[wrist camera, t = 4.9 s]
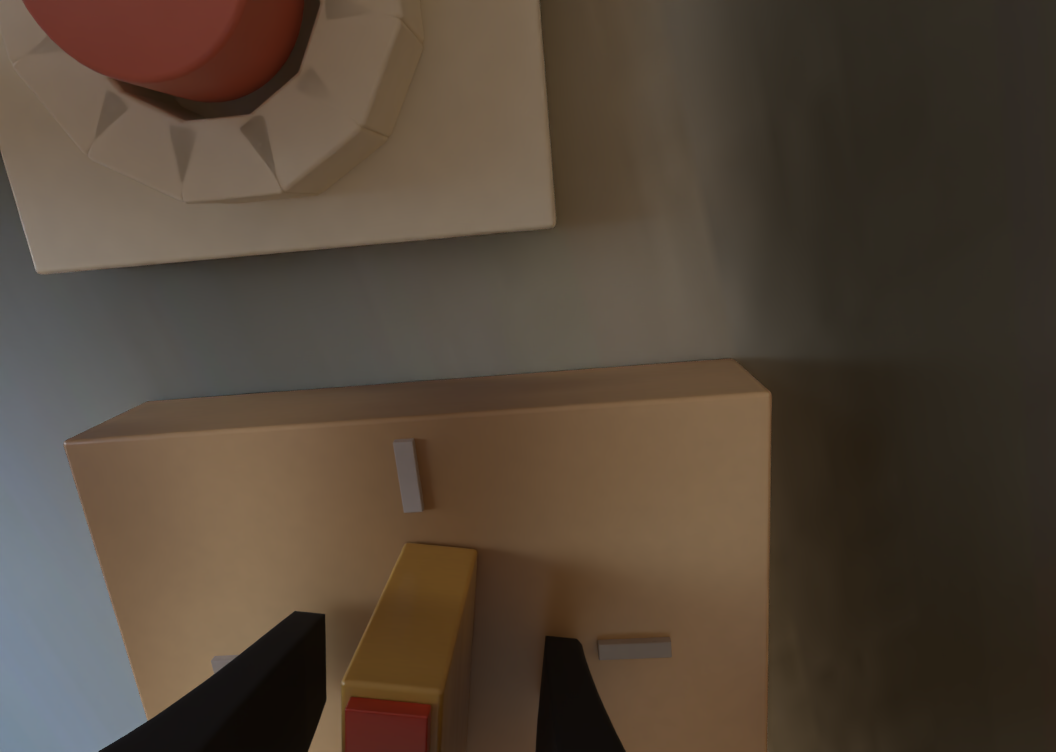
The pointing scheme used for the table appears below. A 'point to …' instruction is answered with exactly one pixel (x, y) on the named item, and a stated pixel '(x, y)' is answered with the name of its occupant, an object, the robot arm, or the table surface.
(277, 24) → the bell button
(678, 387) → the plate
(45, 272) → the bell block
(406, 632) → the thumb turn
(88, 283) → the table surface
